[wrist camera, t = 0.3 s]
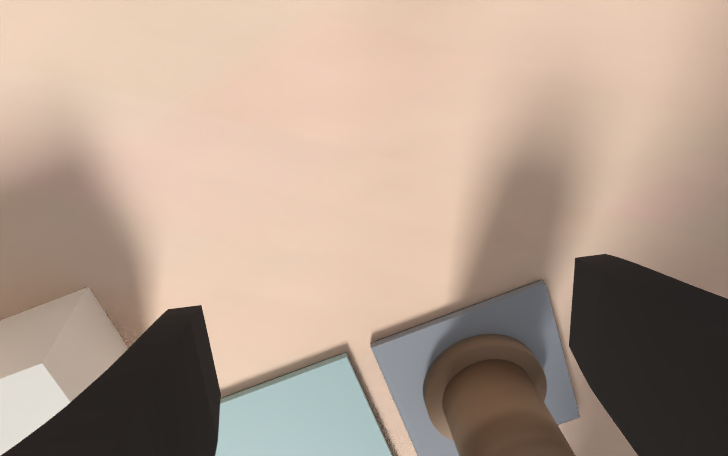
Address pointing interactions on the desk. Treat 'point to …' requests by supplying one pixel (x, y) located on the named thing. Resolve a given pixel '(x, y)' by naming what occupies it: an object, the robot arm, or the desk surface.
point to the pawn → (492, 399)
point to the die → (51, 360)
